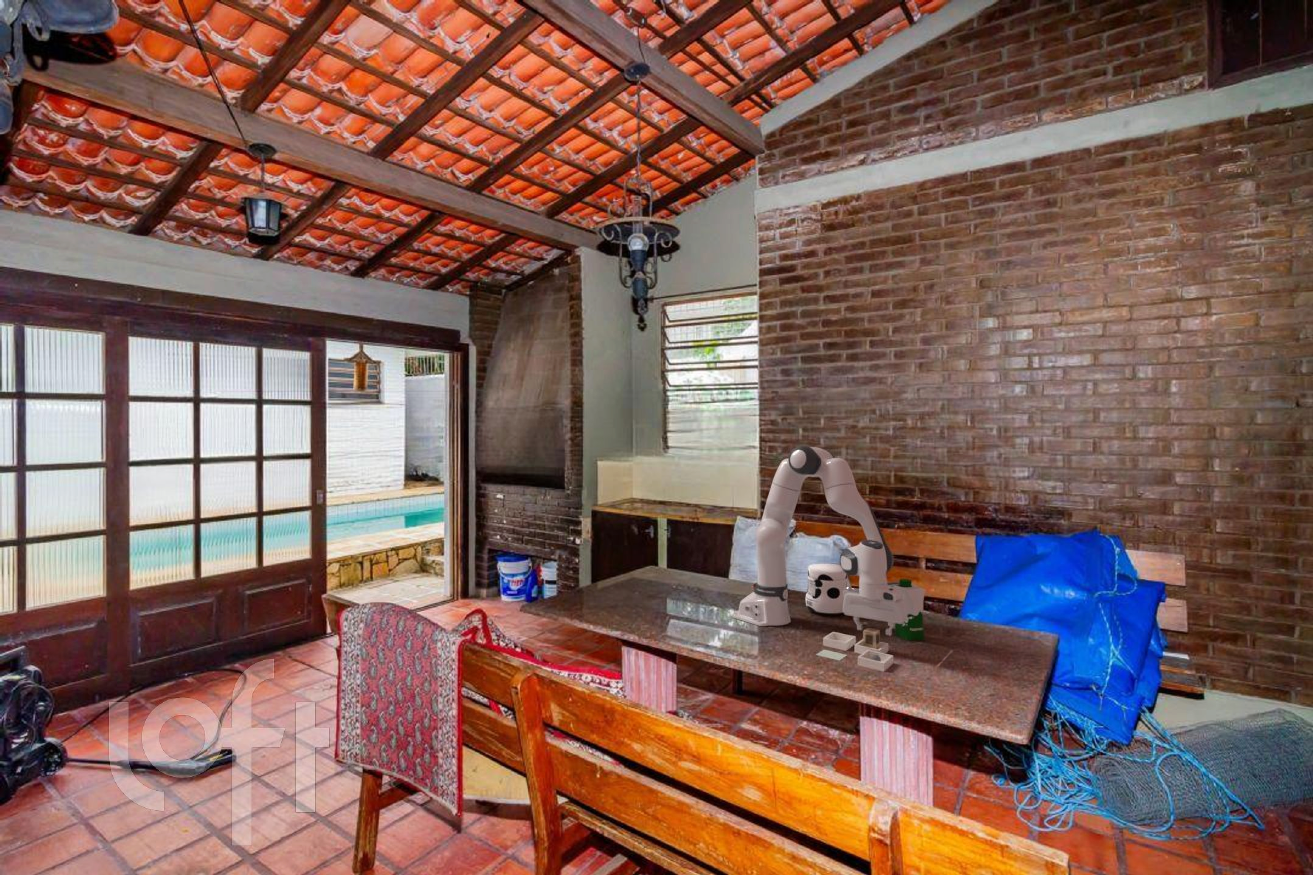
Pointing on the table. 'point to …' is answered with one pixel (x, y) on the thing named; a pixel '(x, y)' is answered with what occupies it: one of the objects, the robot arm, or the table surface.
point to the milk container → (826, 589)
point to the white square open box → (877, 665)
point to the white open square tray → (839, 641)
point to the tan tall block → (871, 638)
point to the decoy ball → (875, 657)
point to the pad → (831, 655)
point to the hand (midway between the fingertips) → (874, 632)
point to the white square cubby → (861, 649)
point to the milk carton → (911, 611)
